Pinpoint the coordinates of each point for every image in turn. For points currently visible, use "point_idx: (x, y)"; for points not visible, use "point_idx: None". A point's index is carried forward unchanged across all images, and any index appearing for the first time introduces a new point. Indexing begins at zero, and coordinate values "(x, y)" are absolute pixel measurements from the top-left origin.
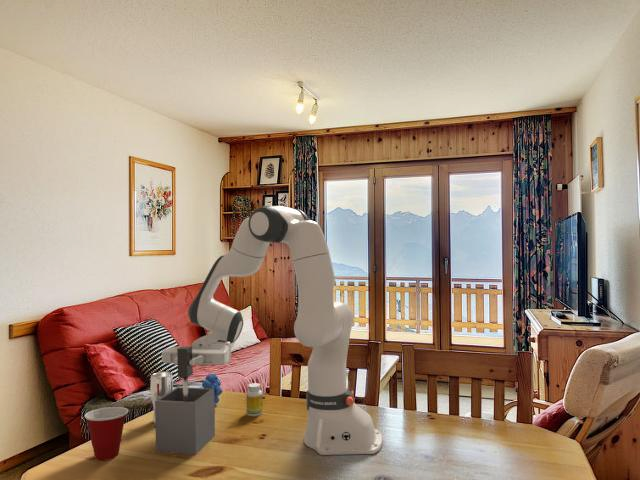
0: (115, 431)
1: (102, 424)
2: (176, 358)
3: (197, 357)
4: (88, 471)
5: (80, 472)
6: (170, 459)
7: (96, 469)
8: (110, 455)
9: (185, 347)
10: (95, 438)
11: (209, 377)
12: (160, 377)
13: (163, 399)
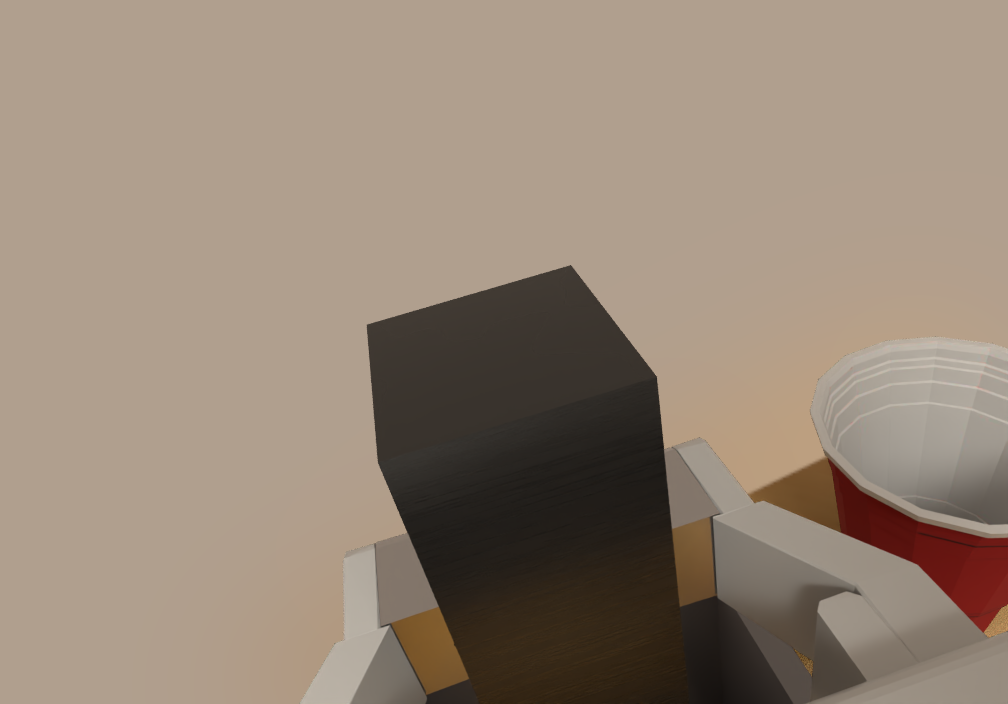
0: (838, 493)
1: (842, 399)
2: (692, 460)
3: (323, 679)
4: (803, 490)
5: (821, 473)
6: None
7: (794, 511)
8: None
9: (495, 365)
10: (882, 449)
11: None
12: None
13: (754, 651)
